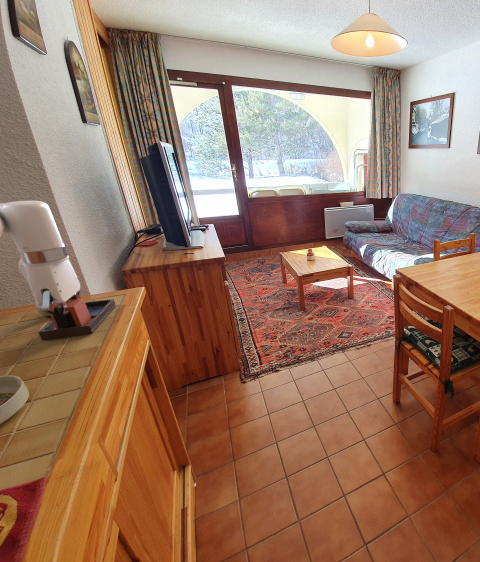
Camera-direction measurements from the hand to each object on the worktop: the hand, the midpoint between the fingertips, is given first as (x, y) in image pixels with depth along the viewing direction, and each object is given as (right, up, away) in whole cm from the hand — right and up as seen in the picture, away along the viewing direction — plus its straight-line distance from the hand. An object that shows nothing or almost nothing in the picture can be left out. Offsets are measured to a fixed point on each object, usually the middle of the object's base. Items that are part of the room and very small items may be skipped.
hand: (73, 321), depth 80 cm
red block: (0, -1, 0) cm, 1 cm away
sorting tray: (-2, -1, +4) cm, 4 cm away
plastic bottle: (-13, +1, +8) cm, 15 cm away
